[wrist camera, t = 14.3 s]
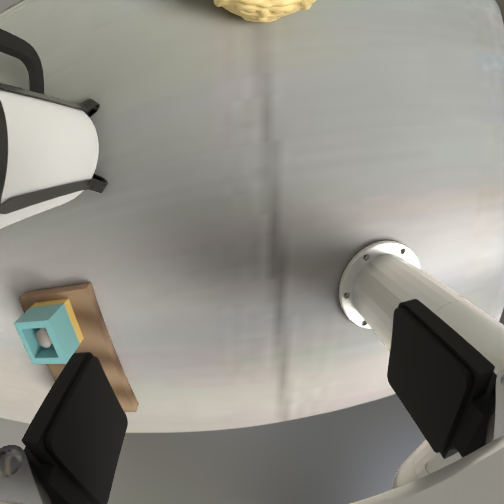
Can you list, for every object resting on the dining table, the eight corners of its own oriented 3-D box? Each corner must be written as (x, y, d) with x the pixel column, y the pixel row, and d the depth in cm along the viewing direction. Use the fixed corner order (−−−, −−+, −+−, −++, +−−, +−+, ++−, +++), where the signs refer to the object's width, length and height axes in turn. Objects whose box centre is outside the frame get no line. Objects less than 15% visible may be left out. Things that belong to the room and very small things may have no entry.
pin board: (138, 403, 43) (129, 434, 36) (76, 403, 43) (63, 431, 36) (91, 282, 37) (69, 306, 30) (25, 292, 36) (0, 313, 30)
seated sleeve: (83, 338, 37) (67, 363, 31) (50, 340, 37) (32, 363, 31) (68, 298, 35) (48, 320, 29) (35, 302, 35) (13, 323, 29)
